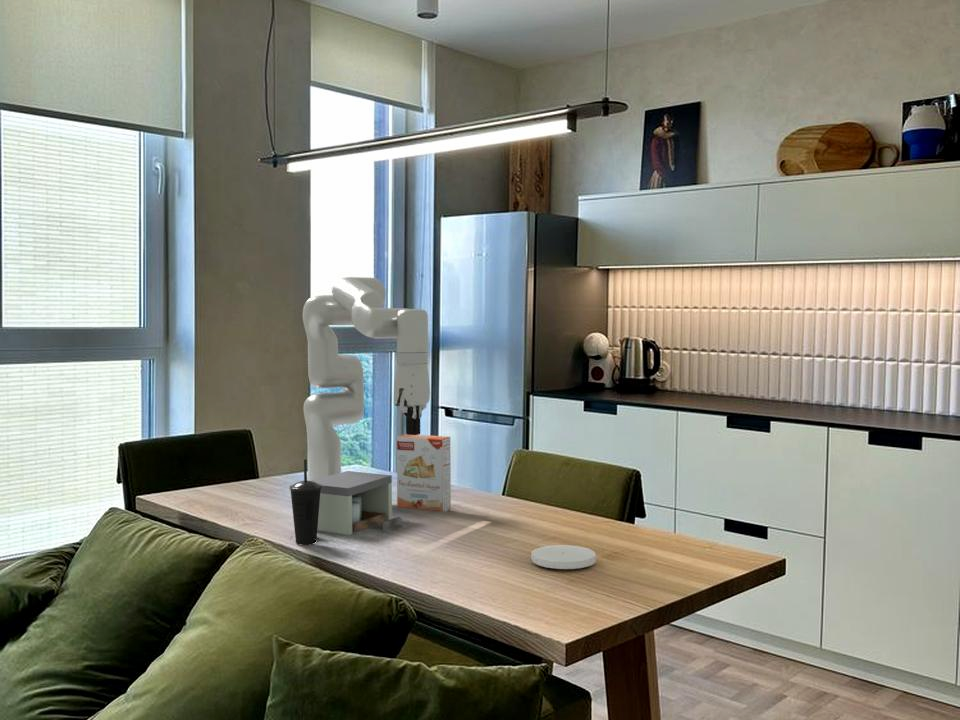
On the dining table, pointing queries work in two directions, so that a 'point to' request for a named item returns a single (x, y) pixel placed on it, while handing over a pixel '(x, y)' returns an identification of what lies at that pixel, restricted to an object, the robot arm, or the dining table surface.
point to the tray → (377, 522)
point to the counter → (339, 498)
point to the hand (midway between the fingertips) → (413, 434)
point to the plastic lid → (563, 557)
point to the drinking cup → (305, 509)
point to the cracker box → (424, 472)
